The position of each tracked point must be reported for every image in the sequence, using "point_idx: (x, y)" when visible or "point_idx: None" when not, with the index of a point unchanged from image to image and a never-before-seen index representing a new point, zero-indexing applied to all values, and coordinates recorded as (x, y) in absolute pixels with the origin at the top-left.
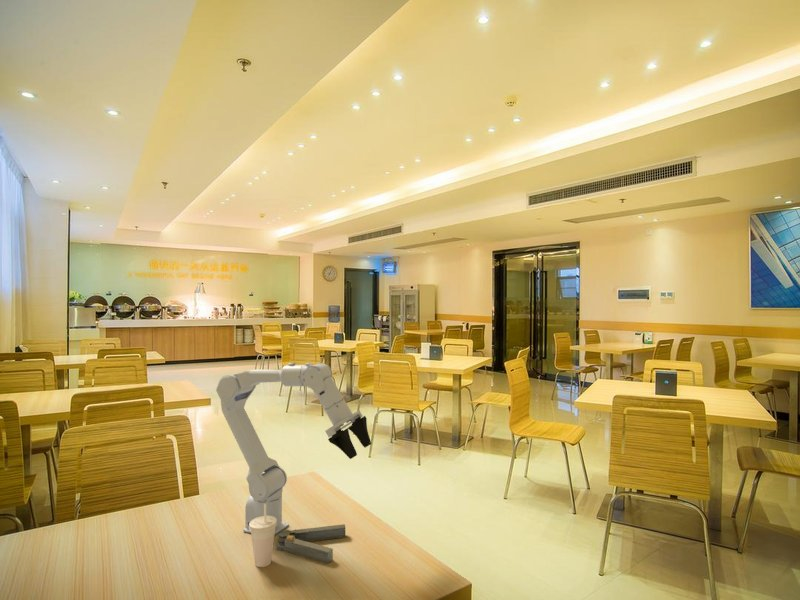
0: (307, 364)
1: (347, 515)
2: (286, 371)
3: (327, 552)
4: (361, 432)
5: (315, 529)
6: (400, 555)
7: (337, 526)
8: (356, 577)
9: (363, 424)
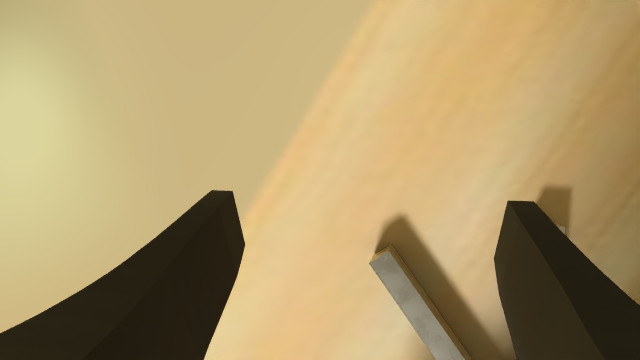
0: None
1: (261, 303)
2: None
3: (564, 230)
4: (172, 328)
5: (440, 343)
6: (420, 33)
7: (392, 280)
8: (589, 102)
9: (100, 340)
